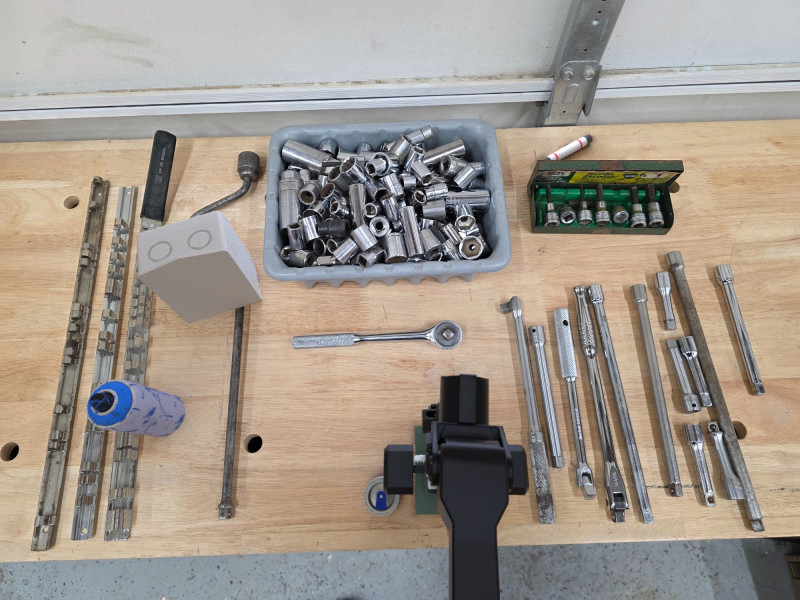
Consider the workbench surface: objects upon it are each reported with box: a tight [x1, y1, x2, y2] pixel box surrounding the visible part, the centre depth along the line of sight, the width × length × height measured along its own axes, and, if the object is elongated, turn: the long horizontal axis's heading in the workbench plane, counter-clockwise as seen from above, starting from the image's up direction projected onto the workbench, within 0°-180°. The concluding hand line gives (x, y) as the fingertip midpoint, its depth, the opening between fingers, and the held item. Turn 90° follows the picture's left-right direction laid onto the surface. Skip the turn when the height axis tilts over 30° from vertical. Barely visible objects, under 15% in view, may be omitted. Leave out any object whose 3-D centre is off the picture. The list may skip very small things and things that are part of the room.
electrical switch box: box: [136, 210, 263, 324], centre depth 84 cm, size 15×15×20 cm
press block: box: [414, 425, 439, 515], centre depth 76 cm, size 14×10×4 cm
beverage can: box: [362, 475, 402, 517], centre depth 70 cm, size 5×5×15 cm
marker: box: [541, 133, 593, 161], centre depth 99 cm, size 15×2×2 cm, turn 121°
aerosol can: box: [85, 378, 186, 438], centre depth 73 cm, size 8×8×20 cm
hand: (449, 469), depth 67 cm, fingers closed
